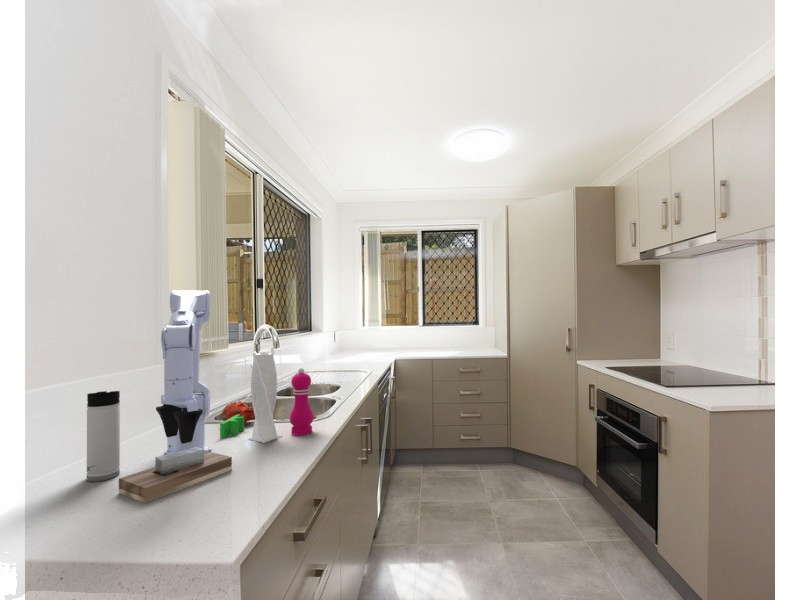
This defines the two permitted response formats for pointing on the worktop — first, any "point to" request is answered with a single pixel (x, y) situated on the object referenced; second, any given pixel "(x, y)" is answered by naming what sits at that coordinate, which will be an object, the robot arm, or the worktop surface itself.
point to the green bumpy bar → (232, 426)
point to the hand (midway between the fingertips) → (178, 439)
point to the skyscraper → (264, 396)
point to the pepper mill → (301, 405)
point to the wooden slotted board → (172, 478)
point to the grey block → (179, 460)
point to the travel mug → (103, 435)
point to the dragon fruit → (238, 411)
